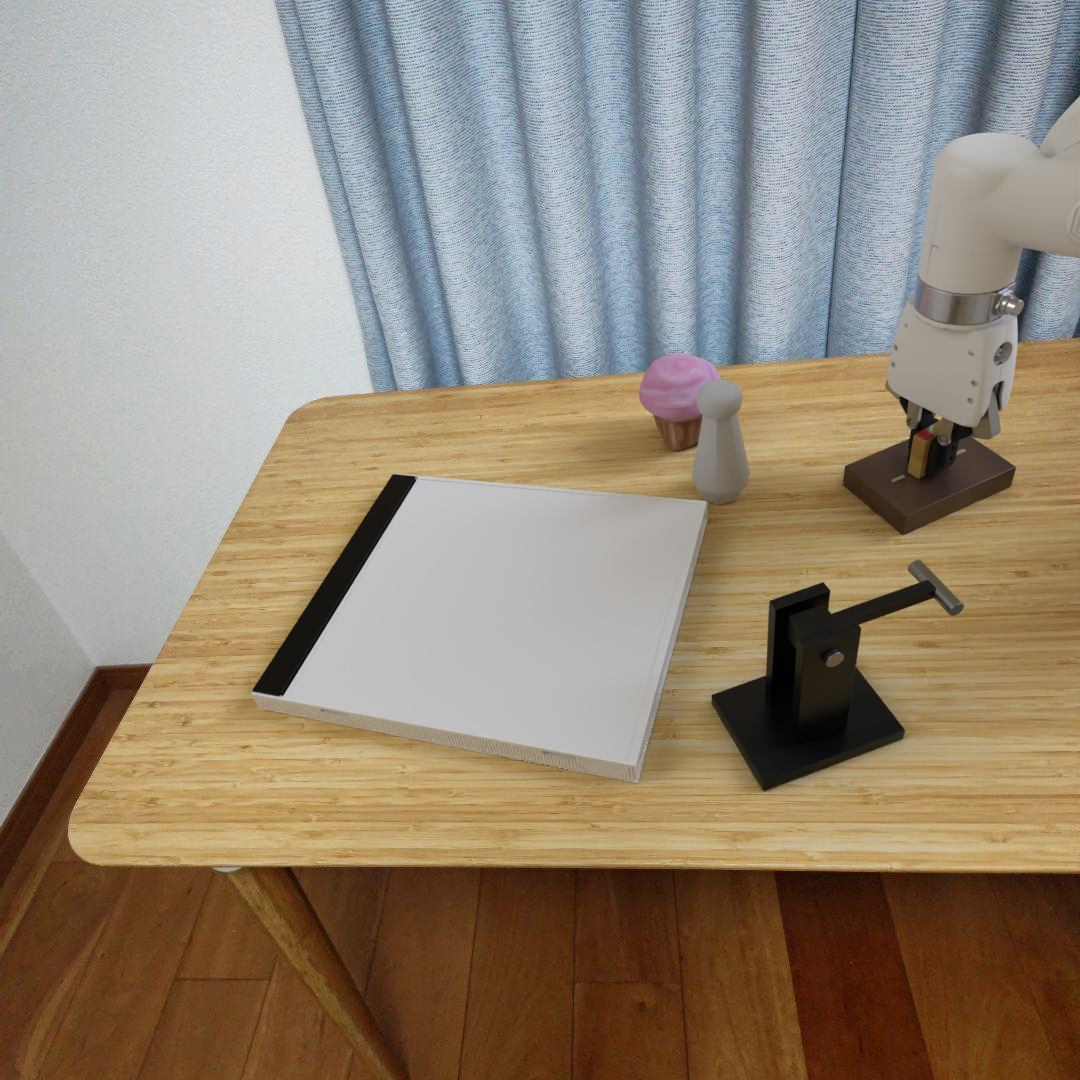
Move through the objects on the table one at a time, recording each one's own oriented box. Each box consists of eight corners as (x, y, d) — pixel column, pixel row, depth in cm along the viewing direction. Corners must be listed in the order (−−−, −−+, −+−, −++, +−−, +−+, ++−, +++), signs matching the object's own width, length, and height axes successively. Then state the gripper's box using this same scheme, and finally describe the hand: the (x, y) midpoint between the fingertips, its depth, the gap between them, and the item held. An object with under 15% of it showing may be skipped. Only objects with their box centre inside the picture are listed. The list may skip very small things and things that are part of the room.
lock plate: (945, 440, 94) (949, 420, 93) (1011, 486, 88) (1017, 465, 86) (842, 484, 92) (844, 464, 90) (902, 535, 85) (906, 514, 84)
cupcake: (665, 471, 97) (660, 394, 91) (630, 431, 104) (623, 356, 97) (737, 444, 99) (738, 366, 92) (698, 406, 105) (696, 331, 98)
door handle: (919, 574, 69) (923, 551, 67) (961, 618, 65) (967, 596, 63) (777, 624, 67) (778, 602, 66) (812, 672, 63) (814, 650, 62)
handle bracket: (840, 656, 76) (854, 548, 68) (903, 739, 70) (928, 630, 61) (711, 703, 75) (708, 598, 66) (763, 792, 68) (768, 688, 59)
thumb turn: (938, 452, 89) (946, 413, 86) (950, 459, 88) (958, 420, 85) (907, 472, 88) (913, 433, 85) (918, 479, 87) (926, 440, 84)
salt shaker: (757, 481, 94) (760, 376, 85) (737, 515, 91) (737, 410, 82) (705, 469, 97) (702, 366, 88) (683, 502, 93) (678, 398, 85)
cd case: (249, 692, 79) (393, 471, 100) (259, 708, 81) (399, 488, 102) (635, 766, 68) (707, 501, 89) (637, 783, 70) (707, 519, 91)
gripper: (1077, 307, 72) (1026, 484, 84) (916, 249, 82) (891, 414, 94) (1016, 344, 69) (972, 520, 82) (858, 280, 80) (840, 445, 92)
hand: (929, 462), depth 88 cm, fingers closed
